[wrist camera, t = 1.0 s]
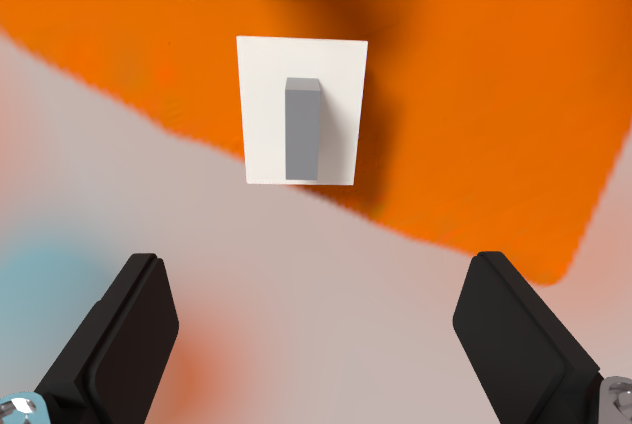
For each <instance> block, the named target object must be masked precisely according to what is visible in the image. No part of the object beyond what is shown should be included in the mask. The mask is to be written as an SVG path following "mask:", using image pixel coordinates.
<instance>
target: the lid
mask: <svg viewBox="0 0 632 424" xmlns="http://www.w3.org/2000/svg"><path fill="white" fill-rule="evenodd" d="M367 46H368V42H367V41H359V40H334V39H309V38H284V37H259V36H237V50H238V65H239V79H240V93H241V108H242V122H243V136H244V150H245V165H246V179H247V183H248V184H249V183H250V184H309V185H353V182H354V172H355V163H356V153H357V143H358V134H359V124H360V114H361V105H362V95H363V85H364V75H365V66H366V56H367Z"/></svg>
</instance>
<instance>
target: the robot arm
mask: <svg viewBox="0 0 632 424" xmlns="http://www.w3.org/2000/svg"><path fill="white" fill-rule="evenodd" d="M453 327H454V330H455V332H456V334H457V336H458V338H459V340H460V342H461V344H462V346H463V348H464V350H465V352H466V354H467V356H468V358H469V360H470V362H471V364H472V367H473V369H474V371H475V372H476V375H477V377H478V379H479V381H480V383H481V385H482V387H483V389H484V391H485V393H486V395H487V397H488V399H489V401H490V403H491V405H492V407H493V409H494V411H495V413H496V415H497V417H498V419H499V421H500V423H501V424H632V380H631V379H628V378H625V377H618V376H613V377H607V378H606V379H604V378H603V377H602V376H601V374H600V373H599V372H598V371H599V370H600V368H599V367H598V365H597V364H596V363H595V362H594V360H593V359H592V358H591V357H590V356H589V355H588V354H587V352H586V351H585V350H584V349H583V348H582V346H581V345H580V344H579V343H578V342H577V340H576V339H575V338H574V337H573V336H572V334H571V333H570V332H569V331H568V330H567V329H566V327H565V326H564V325H563V324H562V323H561V321H560V320H558V318H557V317H556V316H555V314H554V313H553V312H552V311H551V310H550V309H549V308H548V306H547V305H546V304H545V303H544V301H543V300H542V299H541V298H540V297H539V296H538V294H537V293H536V292H535V291H534V290H533V288H532V287H531V286H530V285H529V284H528V283H527V281H526V280H525V279H524V278H523V277H522V275H521V274H520V273H519V272H518V271H517V270H516V268H515V267H514V266H513V265H512V264H511V263H510V261H509V260H508V259H507V258H506V257H505V255H504V254H503V253H501V252H499V251H485V252H479V253H478V254H477V256H474V257H473V258H472V260H471V263H470V266H469V269H468V272H467V275H466V278H465V281H464V285H463V288H462V291H461V294H460V297H459V300H458V303H457V306H456V309H455V312H454V315H453ZM178 330H179V321H178V318H177V313H176V309H175V306H174V301H173V298H172V294H171V290H170V285H169V282H168V277H167V273H166V269H165V266H164V262H163V260H162V259H161V258H157V256H156V254H154V253H145V254H144V253H143V254H141V253H140V254H139V253H138V254H133V255H131V257H130V258H129V259H128V261H127V262H126V264H125V265H124V267H123V268H122V270H121V271H120V273H119V274H118V275H117V277H116V278H115V280H114V281H113V283H112V284H111V286H110V287H109V289H108V290H107V291H106V293H105V294H104V296H103V297H102V299H101V300H100V301H98V302H97V303H96V304H95V305H94V306H93V307H92V309H91V310H90V312H89V313H88V314H87V316H86V317H85V319H84V320H83V322H82V323H81V325H80V326H79V327H78V329H77V330H76V332H75V333H74V334H73V336H72V337H71V339H70V340H69V342H68V343H67V345H66V346H65V347H64V349H63V350H62V352H61V353H60V355H59V356H58V358H57V359H56V361H55V362H54V363H53V365H52V366H51V367H50V369H49V370H48V372H47V373H46V375H45V376H44V378H43V379H42V380H41V382H40V383H39V385H38V386H37V388H36V389H35V391H34V392H19V393H14V394H10V395H8V396H6V397H3V398H1V399H0V424H144V423H145V420H146V417H147V415H148V412H149V409H150V407H151V404H152V401H153V399H154V396H155V393H156V391H157V388H158V385H159V382H160V380H161V377H162V374H163V372H164V369H165V366H166V364H167V361H168V359H169V356H170V353H171V350H172V348H173V345H174V343H175V340H176V337H177V334H178Z"/></svg>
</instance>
